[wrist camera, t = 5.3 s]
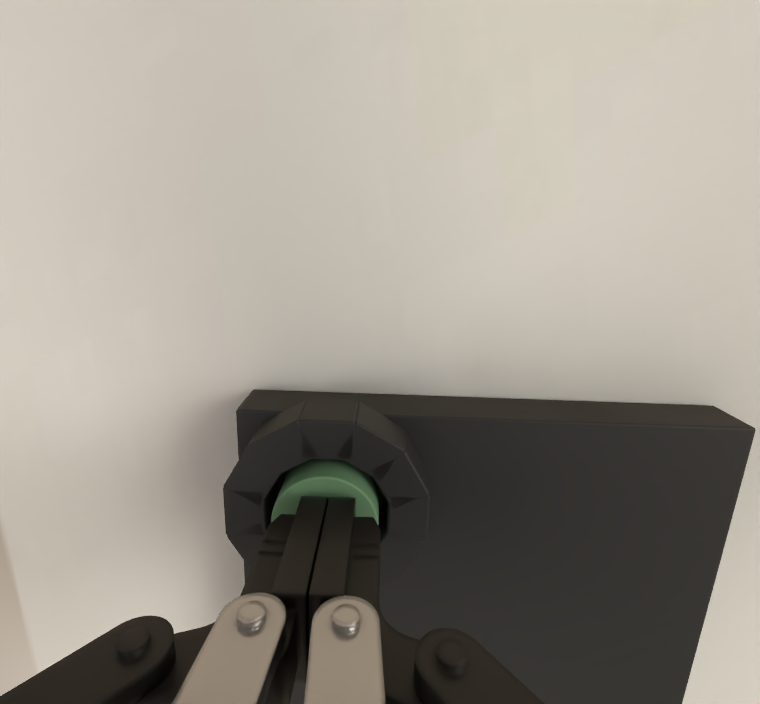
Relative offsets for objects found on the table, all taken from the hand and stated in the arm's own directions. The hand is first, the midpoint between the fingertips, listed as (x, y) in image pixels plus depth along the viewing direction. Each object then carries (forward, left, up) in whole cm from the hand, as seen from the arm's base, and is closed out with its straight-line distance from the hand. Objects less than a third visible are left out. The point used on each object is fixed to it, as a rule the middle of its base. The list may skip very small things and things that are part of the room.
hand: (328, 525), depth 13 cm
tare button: (0, 0, -2) cm, 2 cm away
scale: (+5, -4, -4) cm, 8 cm away
